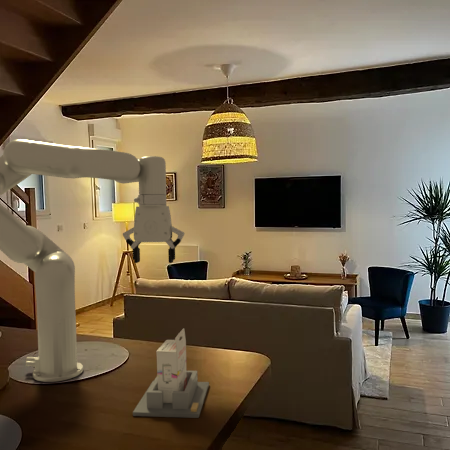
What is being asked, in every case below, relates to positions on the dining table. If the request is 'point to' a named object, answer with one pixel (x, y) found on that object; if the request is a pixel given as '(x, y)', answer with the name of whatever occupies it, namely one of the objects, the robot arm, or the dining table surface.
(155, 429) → the dining table surface
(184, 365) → the ink cartridge box
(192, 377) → the grey box holder
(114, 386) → the dining table surface
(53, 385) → the dining table surface
